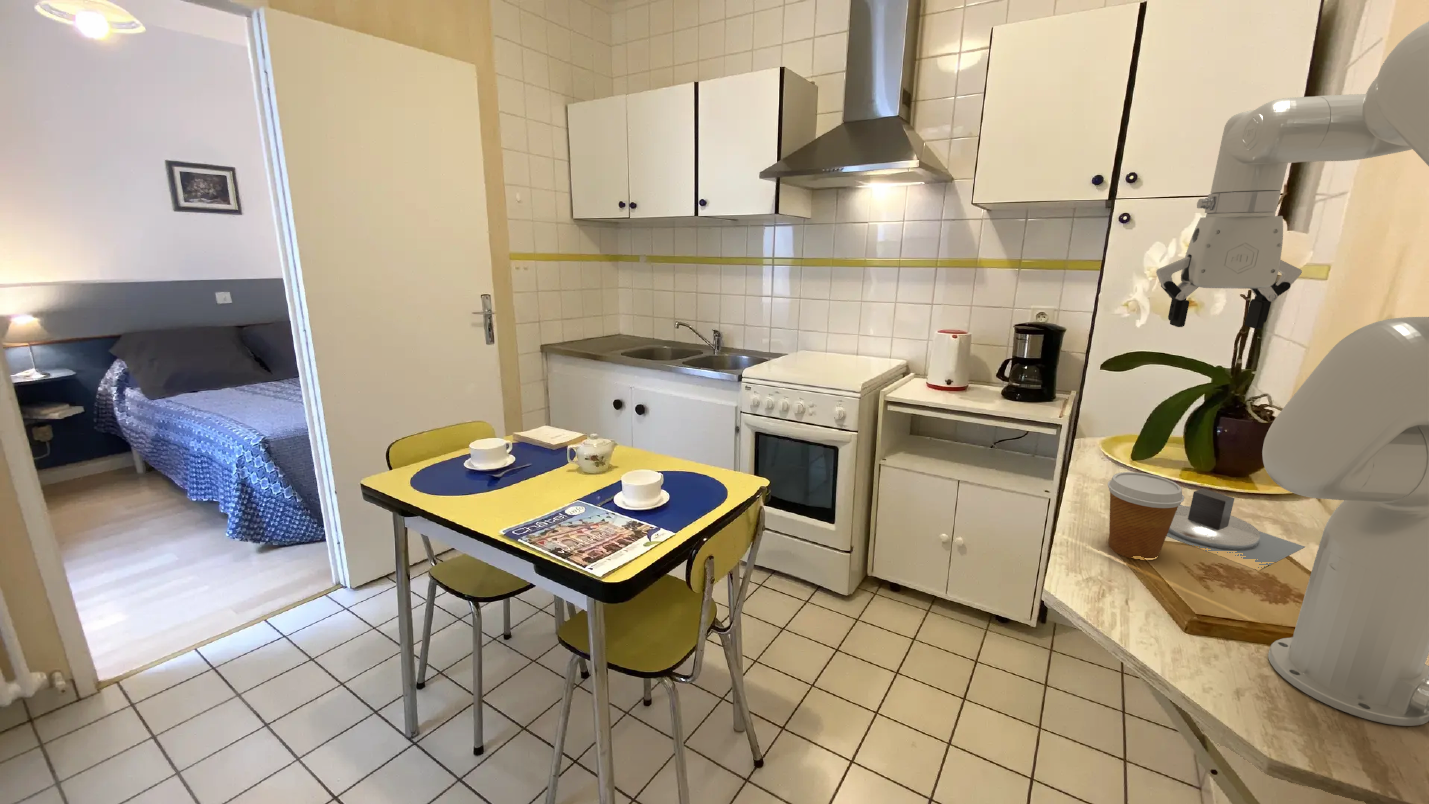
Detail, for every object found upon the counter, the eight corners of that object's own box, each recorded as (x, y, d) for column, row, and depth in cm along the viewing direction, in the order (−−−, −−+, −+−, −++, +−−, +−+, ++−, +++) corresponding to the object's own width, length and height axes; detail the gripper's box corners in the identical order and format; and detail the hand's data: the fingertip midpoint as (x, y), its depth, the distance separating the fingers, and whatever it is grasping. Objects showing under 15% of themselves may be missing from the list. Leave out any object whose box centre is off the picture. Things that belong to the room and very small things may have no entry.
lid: (1274, 538, 95) (1283, 501, 93) (1233, 558, 89) (1242, 519, 88) (1182, 507, 106) (1189, 474, 105) (1141, 523, 101) (1147, 488, 99)
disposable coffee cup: (1099, 560, 91) (1112, 488, 87) (1094, 533, 99) (1106, 467, 95) (1176, 575, 86) (1192, 500, 83) (1164, 546, 94) (1178, 477, 91)
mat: (1304, 550, 93) (1305, 546, 92) (1257, 574, 86) (1258, 570, 86) (1163, 502, 110) (1164, 499, 110) (1115, 519, 103) (1116, 516, 103)
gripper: (1182, 207, 82) (1158, 329, 87) (1336, 203, 77) (1301, 332, 82) (1159, 208, 89) (1137, 321, 94) (1298, 205, 84) (1268, 324, 89)
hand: (1214, 326), depth 88 cm, fingers open, 9 cm apart
